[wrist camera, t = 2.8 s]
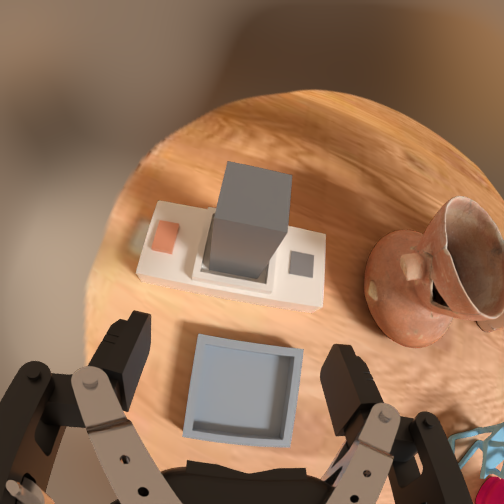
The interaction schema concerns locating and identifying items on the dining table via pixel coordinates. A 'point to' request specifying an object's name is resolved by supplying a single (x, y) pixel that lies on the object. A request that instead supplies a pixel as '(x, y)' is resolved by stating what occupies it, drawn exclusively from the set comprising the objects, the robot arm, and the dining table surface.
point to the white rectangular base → (222, 284)
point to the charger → (249, 219)
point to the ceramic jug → (437, 275)
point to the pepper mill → (491, 492)
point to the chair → (485, 448)
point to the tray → (243, 392)
